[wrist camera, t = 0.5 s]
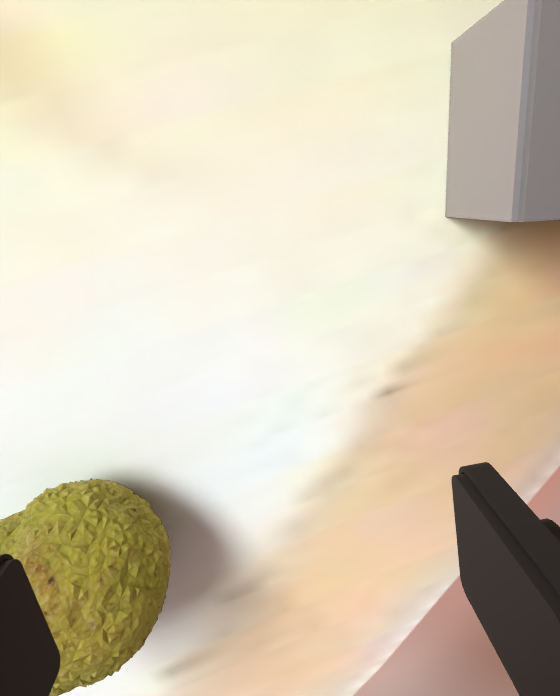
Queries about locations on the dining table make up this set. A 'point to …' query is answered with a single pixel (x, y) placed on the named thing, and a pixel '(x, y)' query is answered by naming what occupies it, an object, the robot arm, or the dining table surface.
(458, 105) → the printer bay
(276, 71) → the dining table surface
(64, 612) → the fruit
